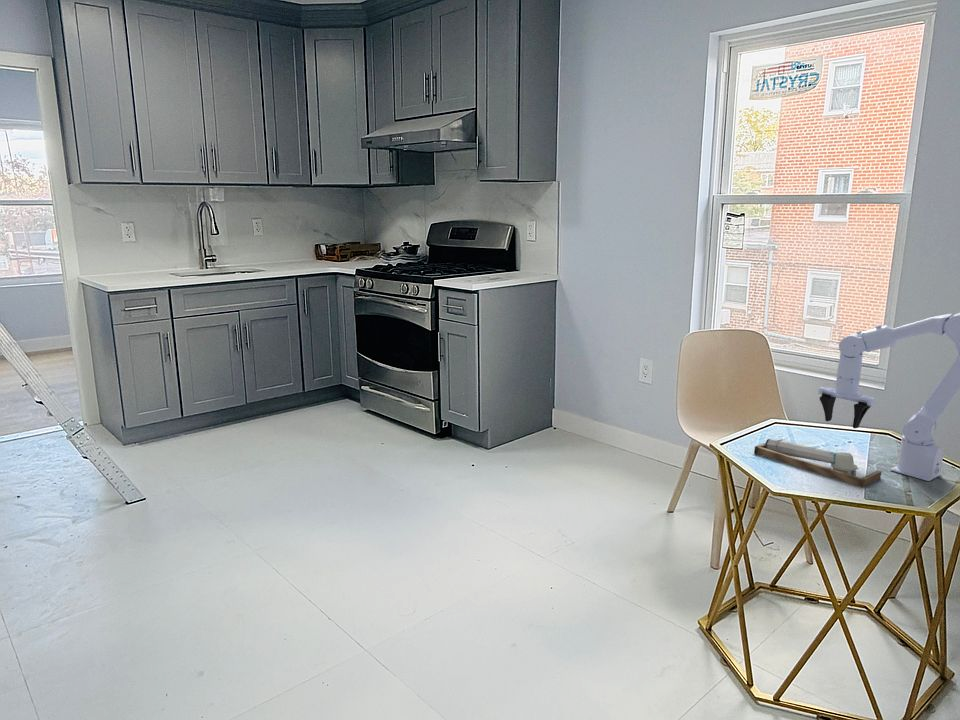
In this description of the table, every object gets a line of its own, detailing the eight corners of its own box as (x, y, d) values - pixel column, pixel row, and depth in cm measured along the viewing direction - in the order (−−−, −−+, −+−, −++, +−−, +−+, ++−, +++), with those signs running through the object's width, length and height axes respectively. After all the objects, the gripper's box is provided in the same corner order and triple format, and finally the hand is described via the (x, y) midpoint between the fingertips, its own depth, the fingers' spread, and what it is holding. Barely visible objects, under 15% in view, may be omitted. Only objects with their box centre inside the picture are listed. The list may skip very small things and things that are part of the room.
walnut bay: (880, 478, 180) (881, 471, 179) (862, 487, 174) (863, 480, 173) (773, 446, 203) (773, 439, 202) (754, 453, 197) (754, 446, 196)
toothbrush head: (774, 436, 200) (861, 450, 180) (774, 458, 201) (861, 475, 180) (763, 439, 197) (850, 454, 177) (763, 462, 198) (850, 479, 177)
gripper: (815, 374, 194) (809, 420, 197) (868, 385, 183) (861, 433, 186) (827, 370, 198) (821, 415, 201) (880, 381, 187) (873, 428, 190)
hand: (841, 424), depth 194 cm, fingers open, 7 cm apart
